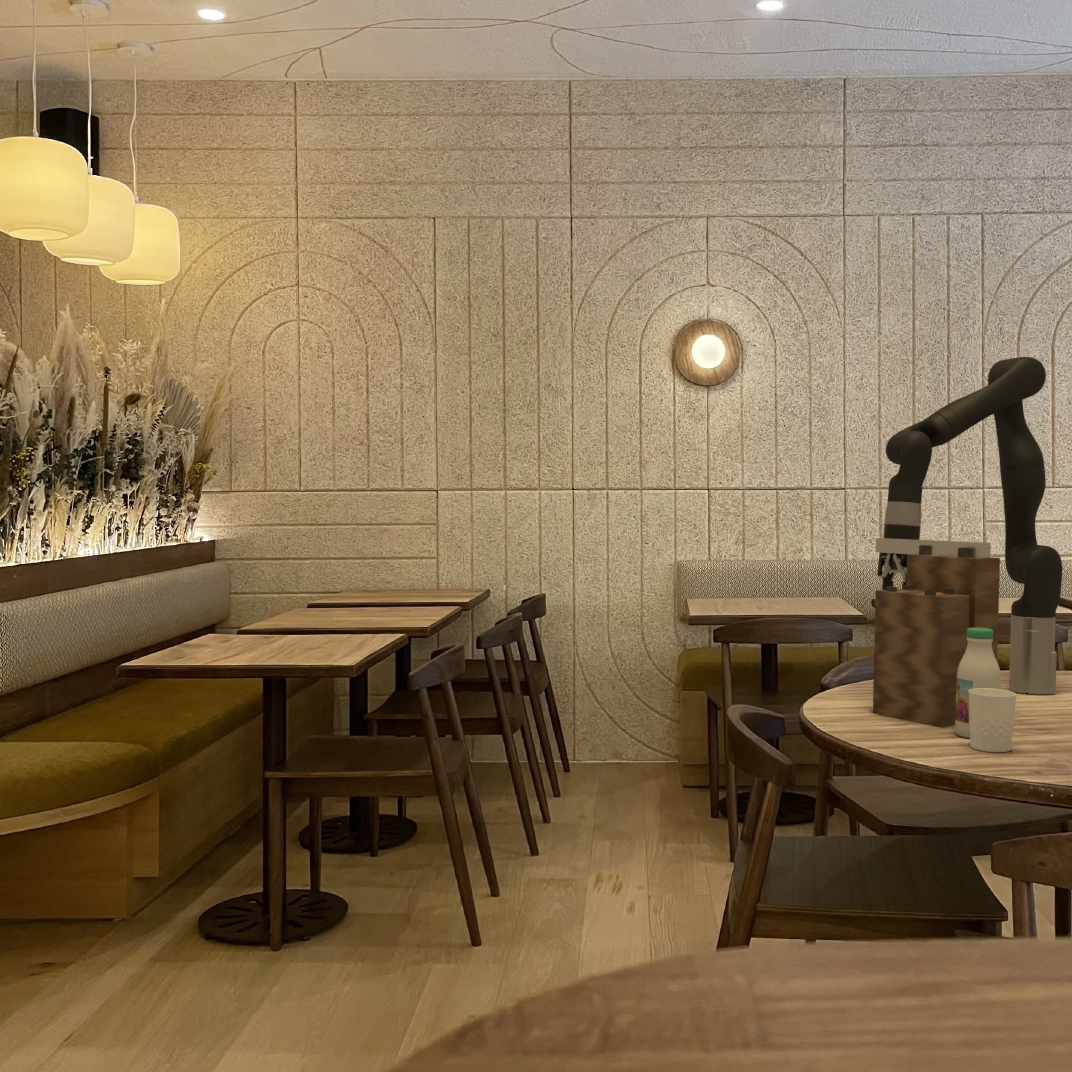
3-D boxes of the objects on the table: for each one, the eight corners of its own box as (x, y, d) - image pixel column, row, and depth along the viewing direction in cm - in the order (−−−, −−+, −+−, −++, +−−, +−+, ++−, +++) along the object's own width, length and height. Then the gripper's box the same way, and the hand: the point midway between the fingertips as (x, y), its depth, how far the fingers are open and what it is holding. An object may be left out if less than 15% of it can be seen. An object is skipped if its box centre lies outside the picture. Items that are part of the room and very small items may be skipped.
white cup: (958, 743, 205) (960, 688, 205) (1001, 743, 206) (1002, 688, 206) (979, 753, 198) (981, 696, 197) (1023, 753, 198) (1024, 696, 198)
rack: (872, 713, 232) (876, 546, 230) (926, 704, 242) (930, 544, 241) (941, 727, 219) (946, 550, 217) (995, 716, 230) (1000, 547, 228)
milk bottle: (998, 733, 214) (1001, 627, 213) (1000, 742, 207) (1003, 632, 206) (954, 730, 217) (957, 625, 216) (955, 738, 209) (958, 629, 209)
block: (875, 552, 244) (876, 538, 244) (883, 551, 246) (883, 537, 246) (982, 558, 226) (983, 543, 226) (990, 557, 228) (990, 542, 228)
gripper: (935, 525, 242) (929, 601, 241) (901, 525, 255) (895, 597, 255) (903, 522, 240) (897, 599, 240) (870, 522, 254) (864, 595, 254)
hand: (896, 598), depth 248 cm, fingers open, 8 cm apart
